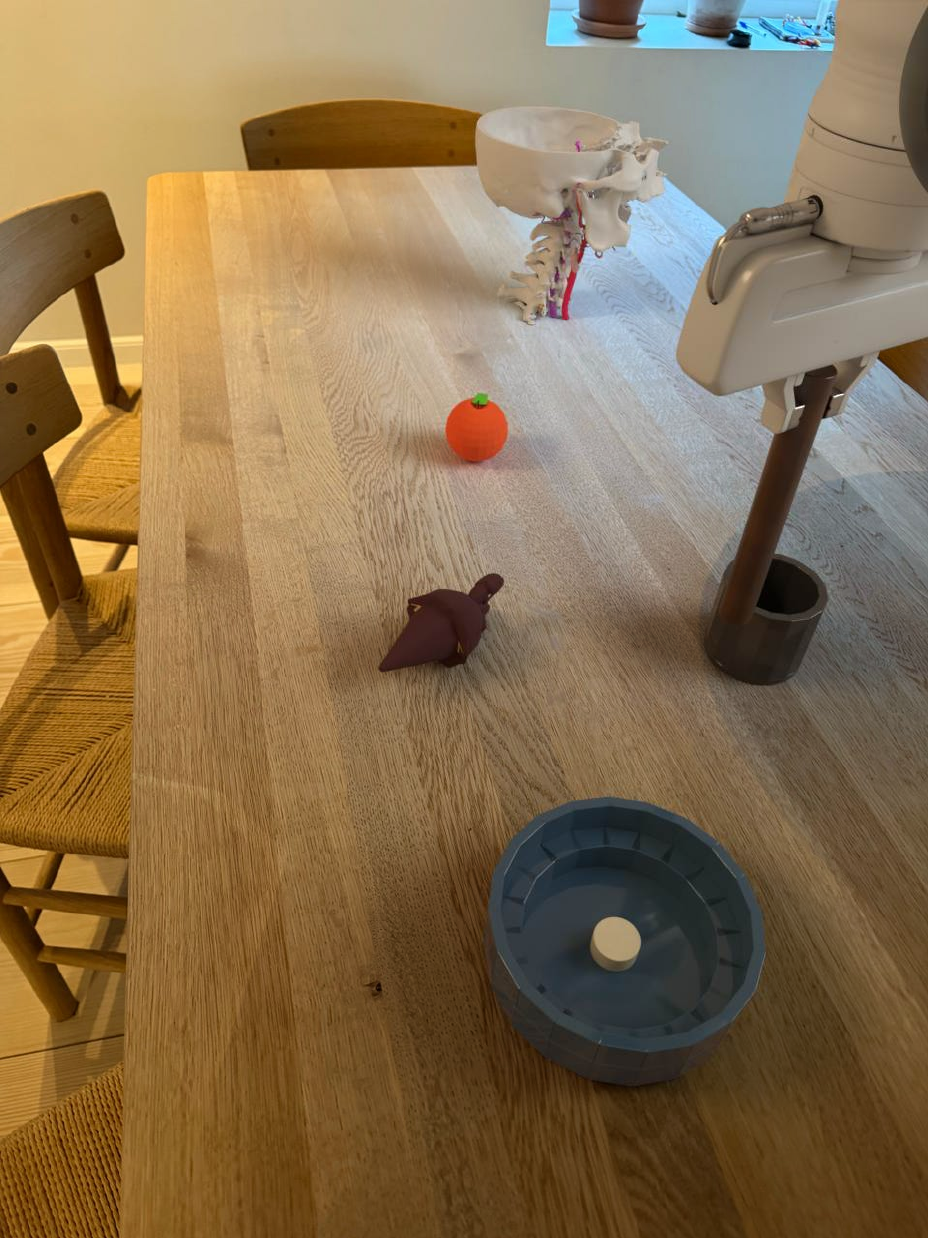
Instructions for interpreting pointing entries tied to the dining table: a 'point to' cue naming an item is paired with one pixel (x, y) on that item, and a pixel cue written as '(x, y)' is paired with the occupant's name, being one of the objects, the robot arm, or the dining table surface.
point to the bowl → (665, 919)
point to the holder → (769, 625)
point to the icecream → (443, 626)
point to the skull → (564, 189)
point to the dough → (615, 944)
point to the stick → (775, 499)
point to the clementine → (476, 428)
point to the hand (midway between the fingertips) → (800, 419)
